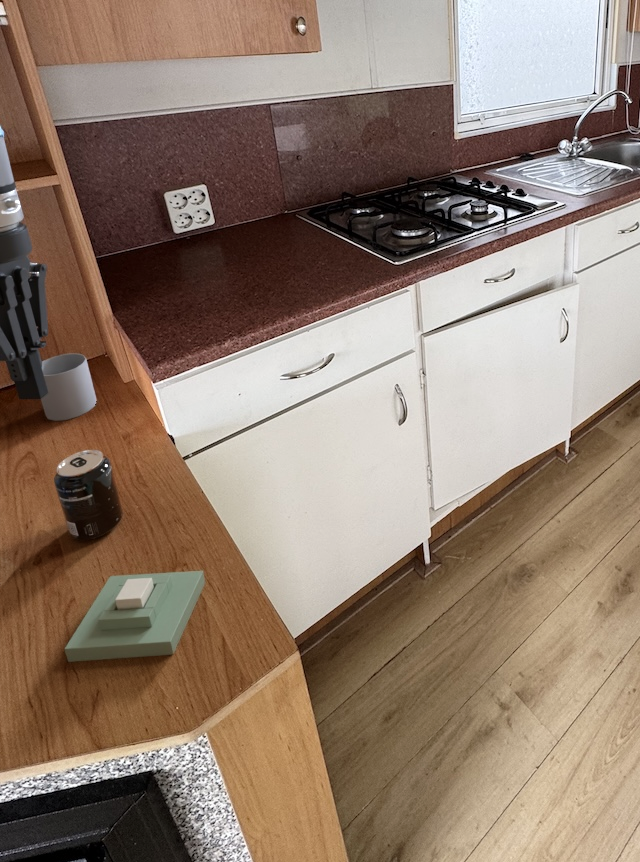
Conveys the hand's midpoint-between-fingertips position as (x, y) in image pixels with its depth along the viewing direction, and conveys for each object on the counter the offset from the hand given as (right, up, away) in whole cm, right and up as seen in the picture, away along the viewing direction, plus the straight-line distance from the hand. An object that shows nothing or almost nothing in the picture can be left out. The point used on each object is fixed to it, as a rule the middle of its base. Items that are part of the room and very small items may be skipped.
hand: (34, 395), depth 77 cm
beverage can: (+1, -23, +11) cm, 25 cm away
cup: (-24, -12, +39) cm, 47 cm away
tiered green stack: (+16, -28, -3) cm, 32 cm away
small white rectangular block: (+16, -25, -4) cm, 30 cm away
